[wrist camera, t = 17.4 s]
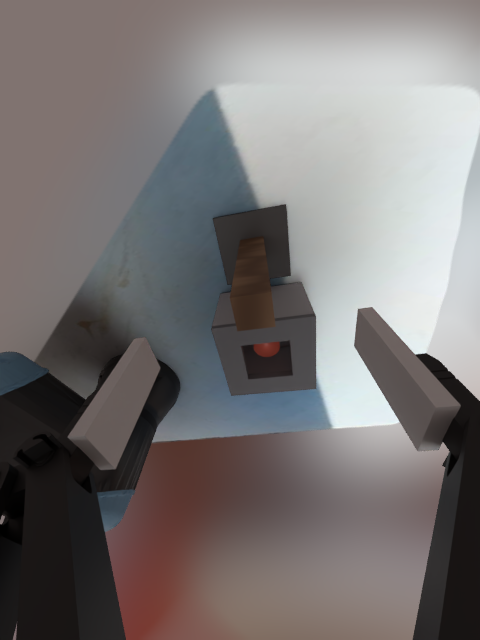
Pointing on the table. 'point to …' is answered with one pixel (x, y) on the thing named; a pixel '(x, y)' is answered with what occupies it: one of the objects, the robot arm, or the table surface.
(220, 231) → the mat
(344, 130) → the table surface
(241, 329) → the wooden stick
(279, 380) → the grey box with opening
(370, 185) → the table surface
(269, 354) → the red ball
